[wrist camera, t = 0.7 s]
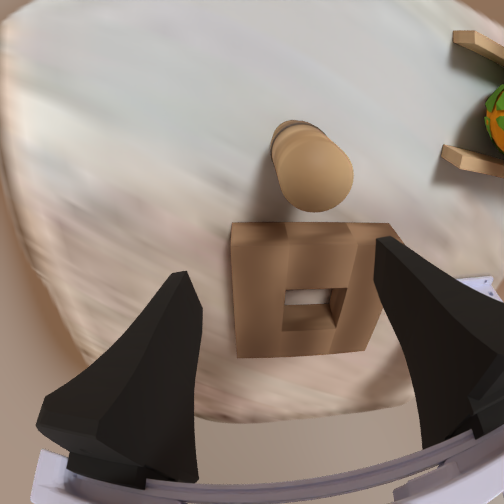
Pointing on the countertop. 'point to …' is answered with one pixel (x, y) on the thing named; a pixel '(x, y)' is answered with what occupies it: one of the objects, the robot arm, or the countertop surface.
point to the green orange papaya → (496, 118)
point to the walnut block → (304, 286)
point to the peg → (310, 167)
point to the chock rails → (462, 156)
